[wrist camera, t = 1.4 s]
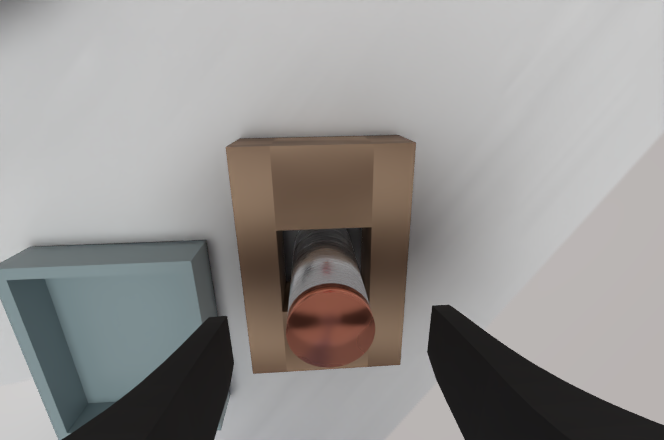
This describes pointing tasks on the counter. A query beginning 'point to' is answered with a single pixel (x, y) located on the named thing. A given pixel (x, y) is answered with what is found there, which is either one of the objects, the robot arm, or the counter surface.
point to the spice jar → (327, 300)
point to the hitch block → (321, 213)
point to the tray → (103, 318)
